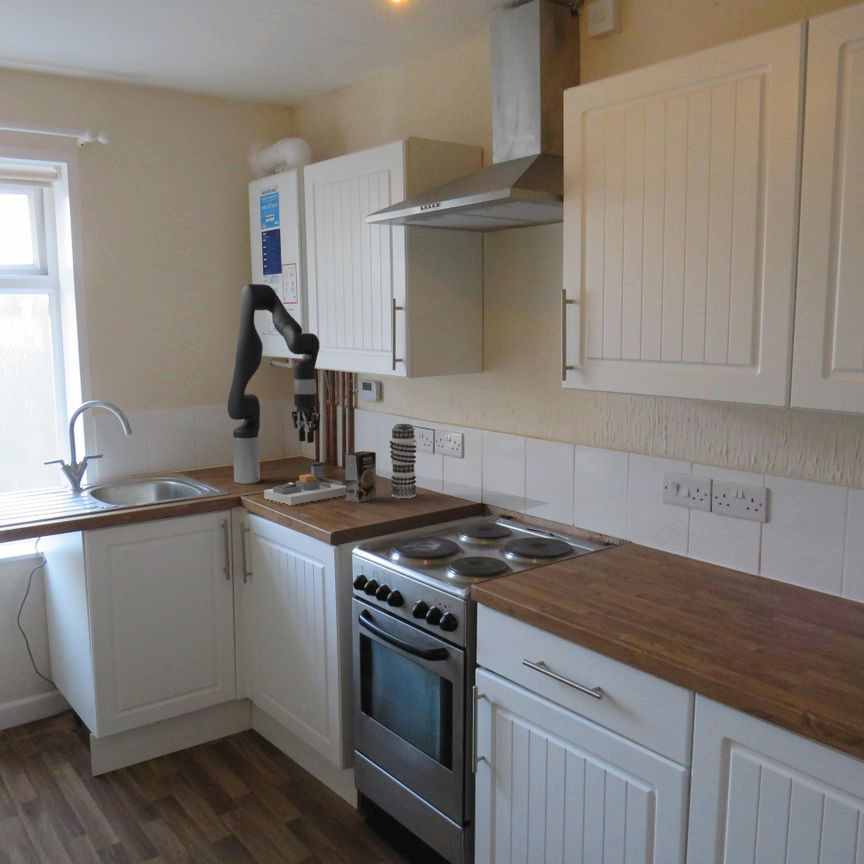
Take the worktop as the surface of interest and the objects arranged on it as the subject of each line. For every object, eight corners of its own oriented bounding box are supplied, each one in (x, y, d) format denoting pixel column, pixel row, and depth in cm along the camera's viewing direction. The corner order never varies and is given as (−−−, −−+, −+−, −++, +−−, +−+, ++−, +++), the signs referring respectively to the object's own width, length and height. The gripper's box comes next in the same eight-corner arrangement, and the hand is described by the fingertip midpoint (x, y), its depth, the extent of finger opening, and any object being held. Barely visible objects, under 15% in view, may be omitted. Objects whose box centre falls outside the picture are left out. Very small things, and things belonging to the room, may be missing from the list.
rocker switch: (277, 490, 289) (277, 486, 289) (290, 485, 292) (289, 481, 292) (283, 491, 286) (283, 488, 286) (296, 486, 290) (295, 483, 289)
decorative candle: (388, 493, 299) (387, 423, 296) (415, 492, 301) (414, 422, 298) (392, 499, 290) (391, 426, 287) (418, 498, 292) (418, 425, 289)
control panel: (264, 498, 293) (263, 483, 292) (323, 488, 310) (322, 473, 309) (291, 505, 281) (290, 489, 281) (350, 494, 299) (350, 479, 298)
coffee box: (359, 503, 285) (358, 455, 283) (345, 500, 289) (344, 453, 287) (377, 498, 292) (376, 451, 290) (363, 496, 296) (362, 450, 294)
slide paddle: (310, 482, 305) (310, 463, 304) (320, 480, 308) (320, 462, 307) (313, 483, 303) (313, 464, 302) (323, 481, 306) (323, 462, 305)
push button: (299, 482, 295) (299, 475, 295) (308, 480, 298) (308, 473, 298) (306, 483, 292) (305, 476, 292) (315, 482, 295) (315, 475, 295)
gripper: (284, 391, 293) (285, 441, 296) (308, 394, 283) (309, 445, 285) (302, 390, 299) (303, 438, 301) (326, 392, 288) (327, 442, 291)
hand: (306, 441), depth 293 cm, fingers open, 4 cm apart
